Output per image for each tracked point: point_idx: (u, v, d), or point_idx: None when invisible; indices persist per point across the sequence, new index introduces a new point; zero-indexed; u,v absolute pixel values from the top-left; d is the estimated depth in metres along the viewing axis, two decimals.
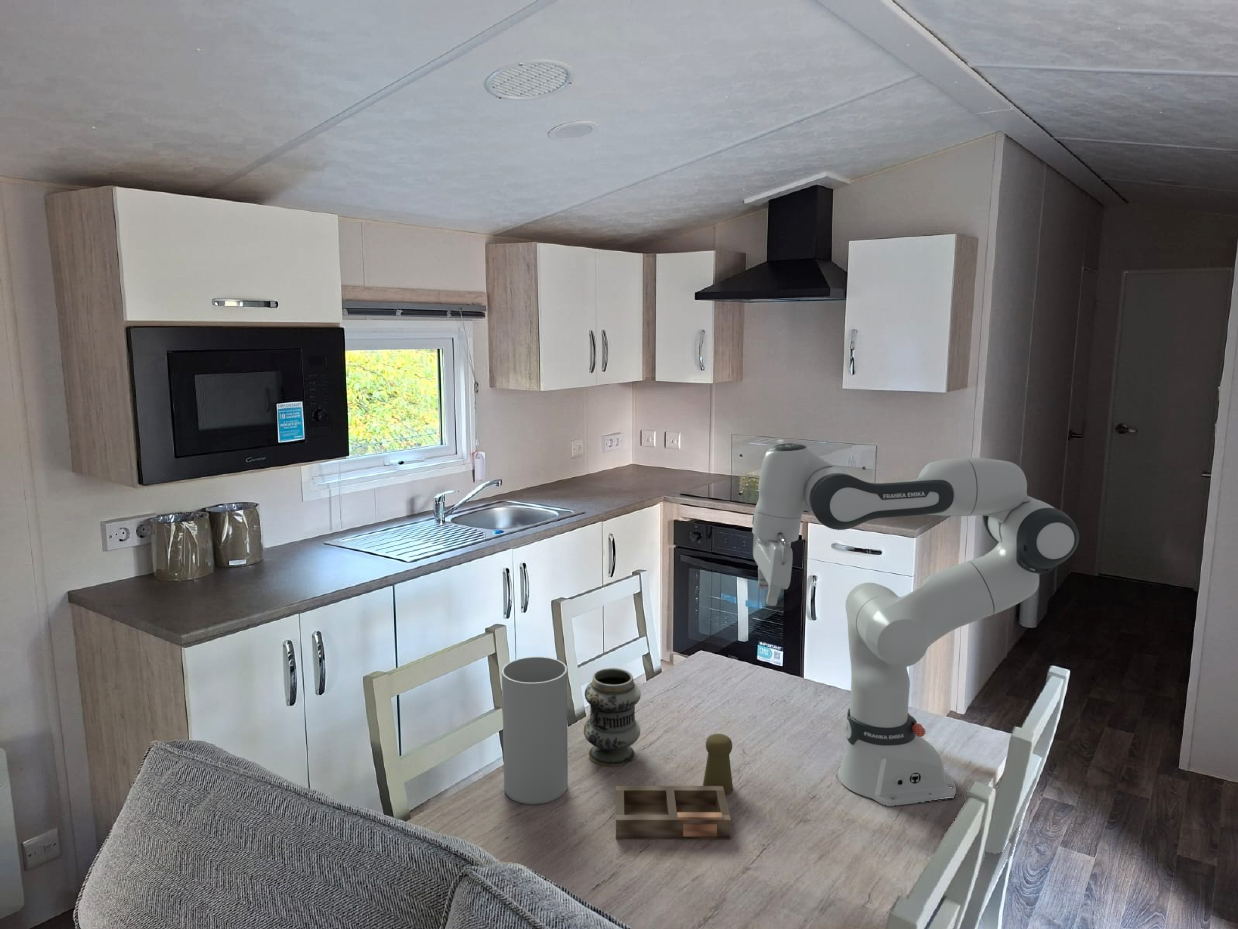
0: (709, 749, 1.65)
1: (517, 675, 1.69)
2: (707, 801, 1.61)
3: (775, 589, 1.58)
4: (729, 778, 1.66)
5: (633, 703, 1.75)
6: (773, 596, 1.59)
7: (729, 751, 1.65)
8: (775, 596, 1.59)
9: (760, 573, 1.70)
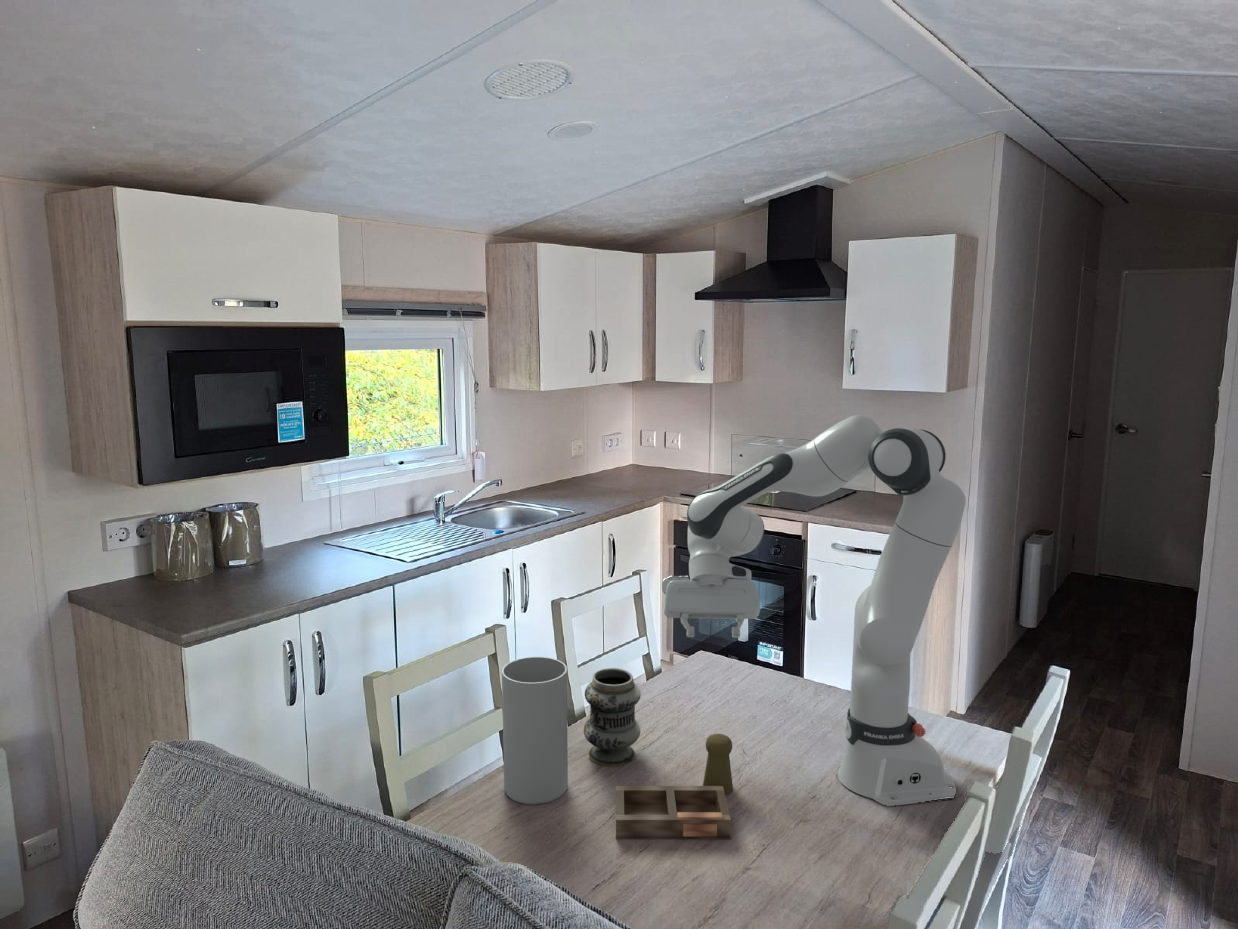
0: (709, 749, 1.65)
1: (517, 675, 1.69)
2: (707, 801, 1.61)
3: (681, 620, 1.78)
4: (729, 778, 1.66)
5: (633, 703, 1.75)
6: (686, 627, 1.77)
7: (729, 751, 1.65)
8: (686, 626, 1.77)
9: None
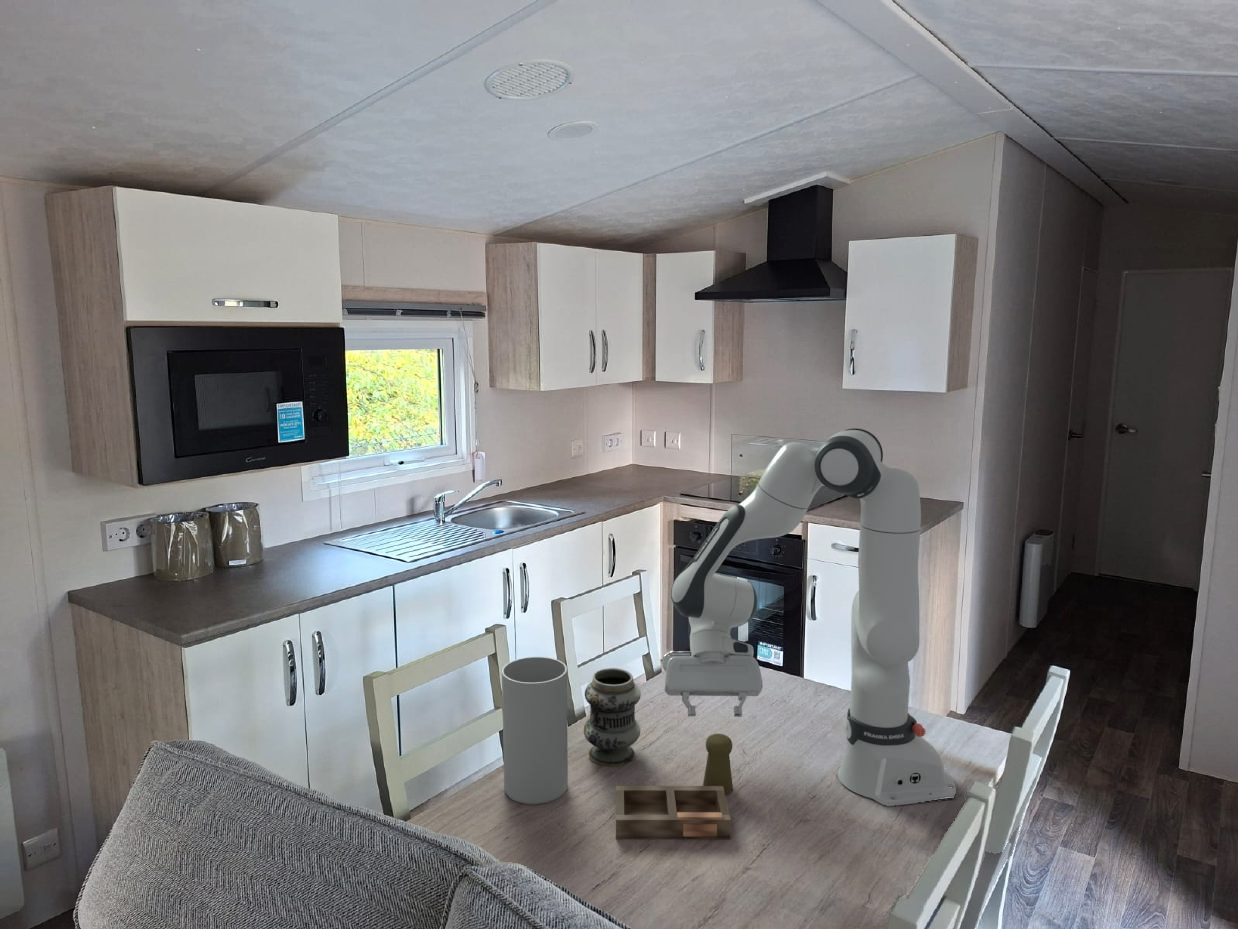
0: (709, 749, 1.65)
1: (517, 675, 1.69)
2: (707, 801, 1.61)
3: (682, 698, 1.75)
4: (729, 778, 1.66)
5: (633, 703, 1.75)
6: (687, 706, 1.74)
7: (729, 751, 1.65)
8: (687, 705, 1.74)
9: None
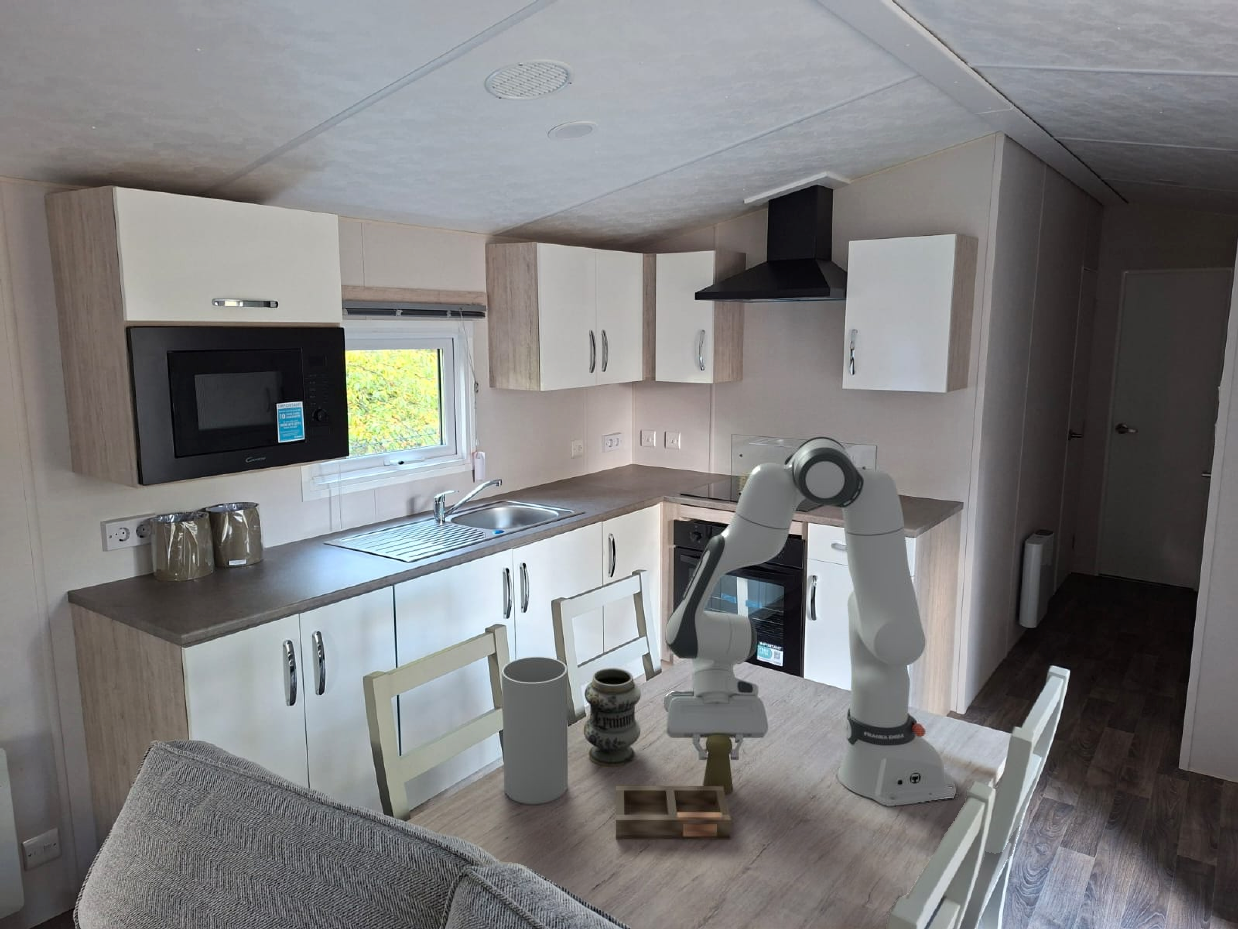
0: (709, 749, 1.65)
1: (517, 675, 1.69)
2: (707, 801, 1.61)
3: (693, 741, 1.69)
4: (729, 778, 1.66)
5: (633, 703, 1.75)
6: (698, 749, 1.68)
7: (729, 751, 1.65)
8: (698, 748, 1.68)
9: None
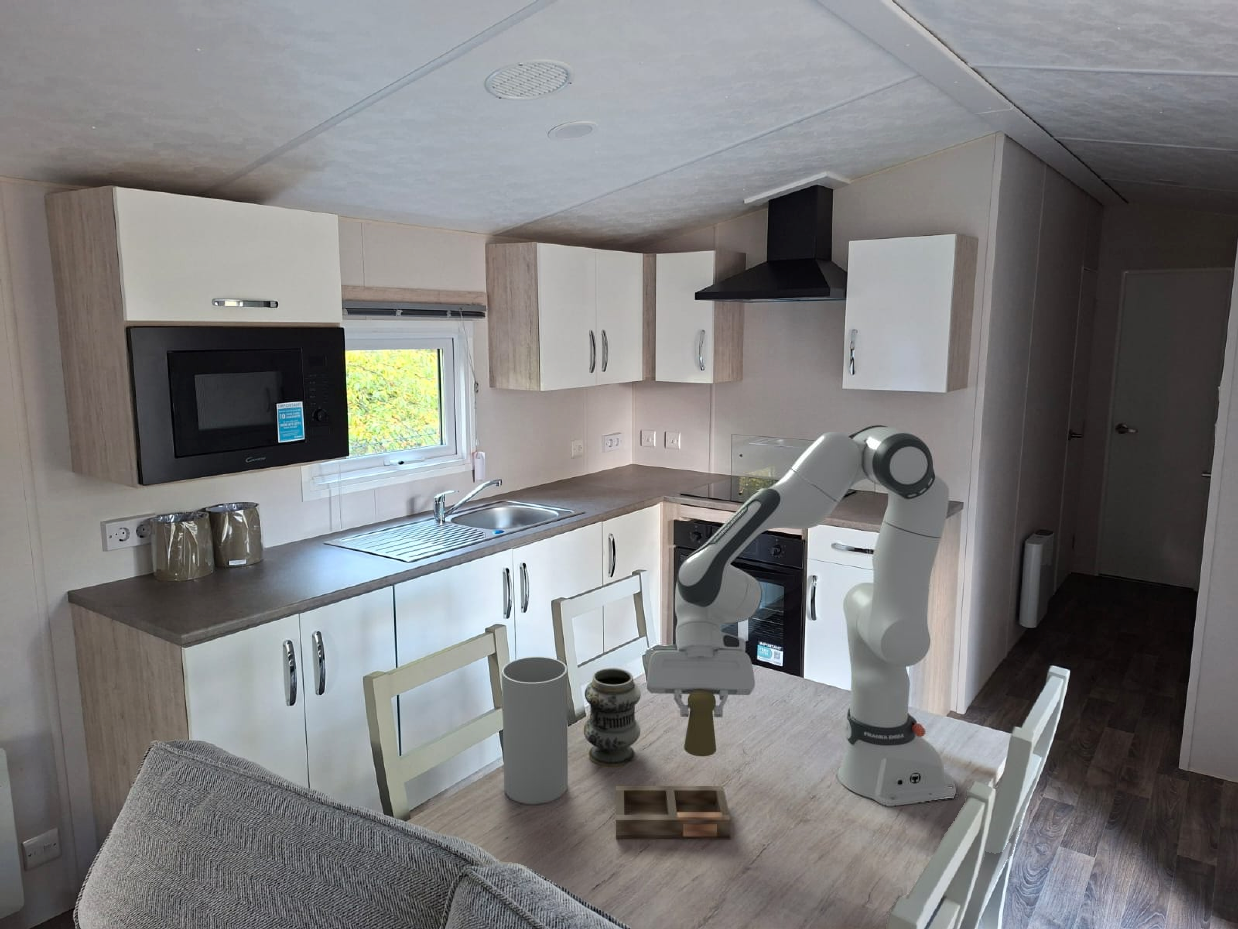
0: (691, 705, 1.55)
1: (517, 675, 1.69)
2: (707, 801, 1.61)
3: (674, 696, 1.58)
4: (712, 737, 1.56)
5: (633, 703, 1.75)
6: (679, 705, 1.58)
7: (712, 707, 1.55)
8: (679, 704, 1.57)
9: None
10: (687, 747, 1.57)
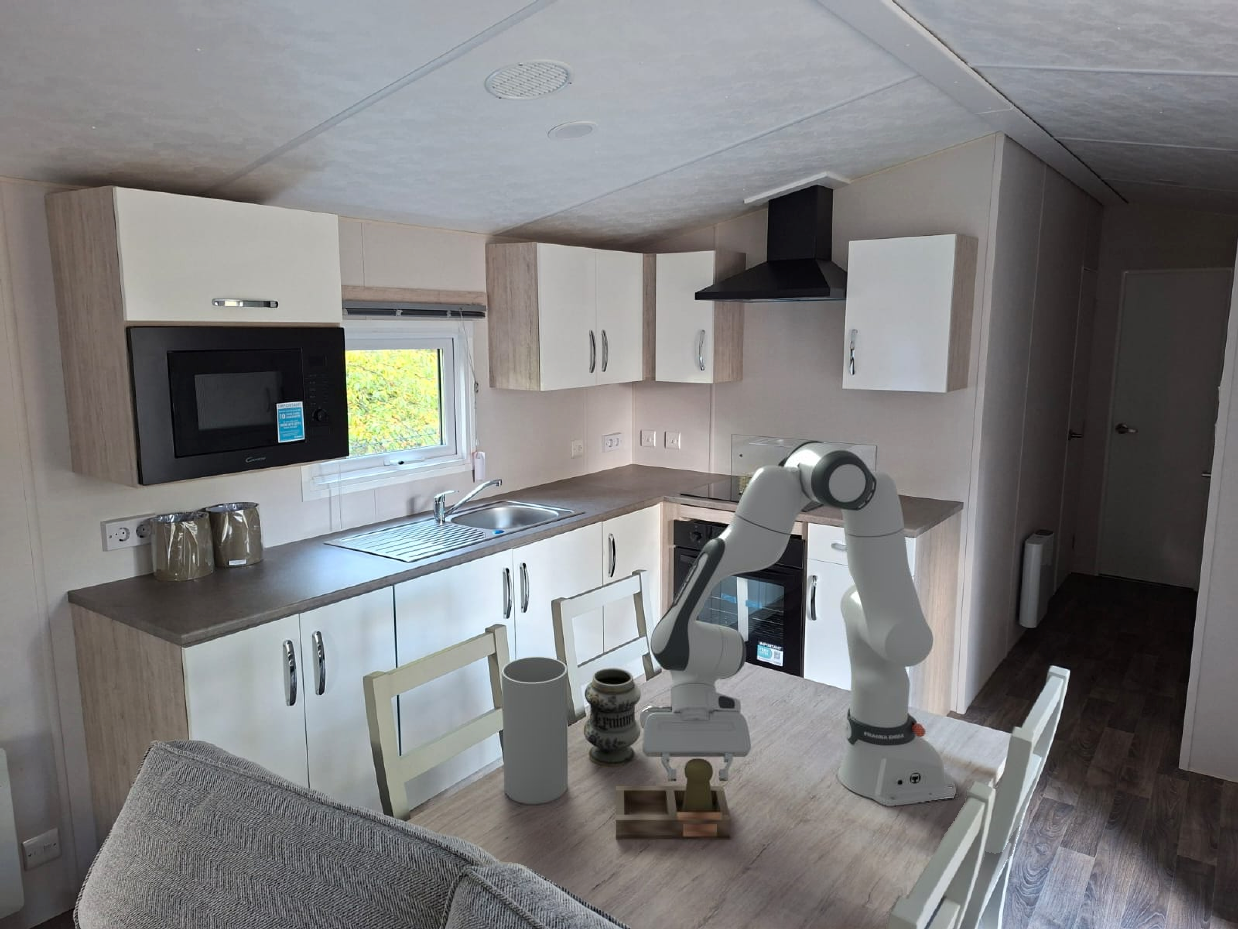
0: (688, 776, 1.54)
1: (517, 675, 1.69)
2: None
3: (662, 760, 1.58)
4: (710, 806, 1.55)
5: (633, 703, 1.75)
6: (667, 769, 1.57)
7: (709, 777, 1.54)
8: (667, 769, 1.56)
9: None
10: None
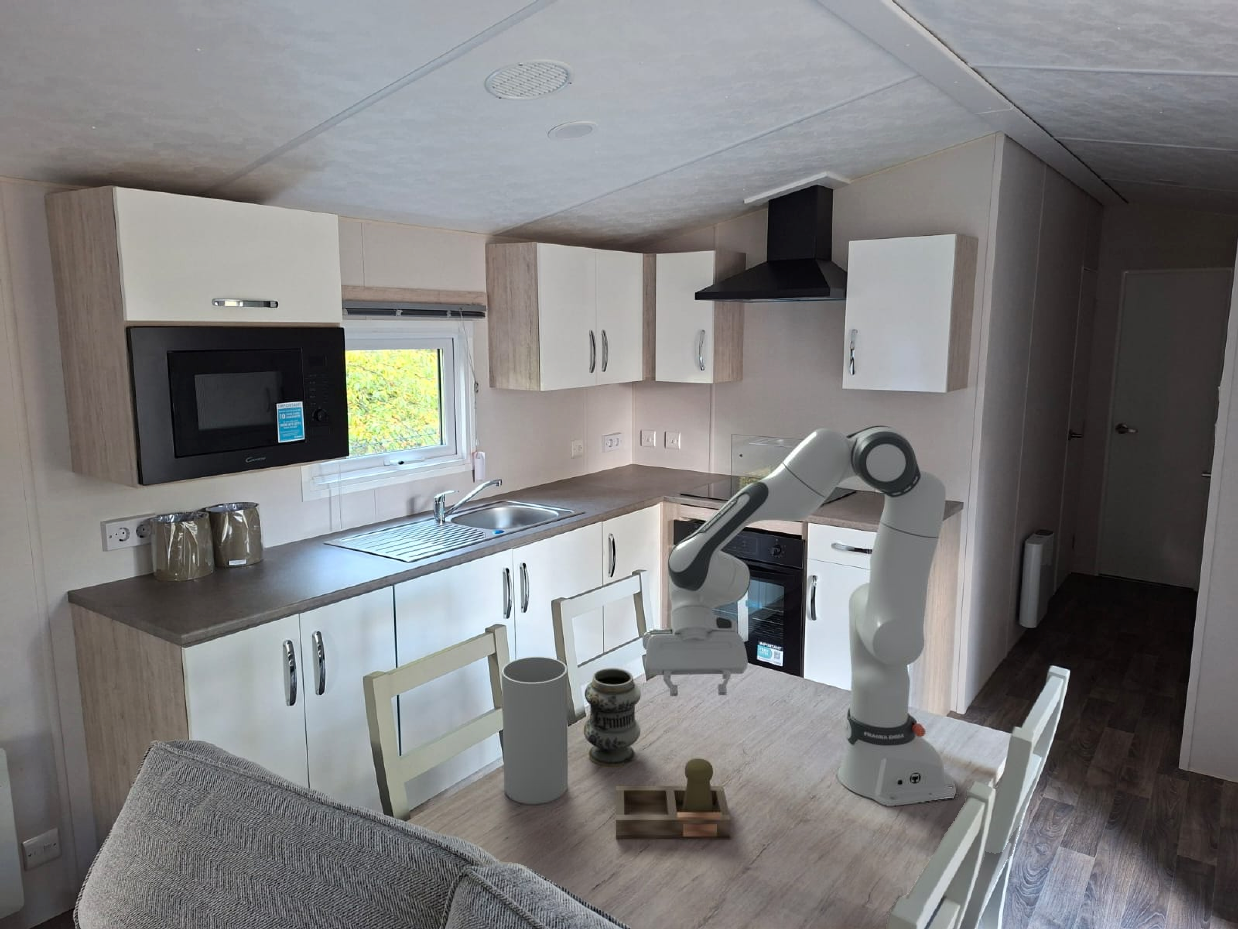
0: (688, 776, 1.54)
1: (517, 675, 1.69)
2: None
3: (663, 677, 1.67)
4: (710, 806, 1.55)
5: (633, 703, 1.75)
6: (668, 685, 1.66)
7: (710, 778, 1.54)
8: (668, 685, 1.65)
9: None
10: None
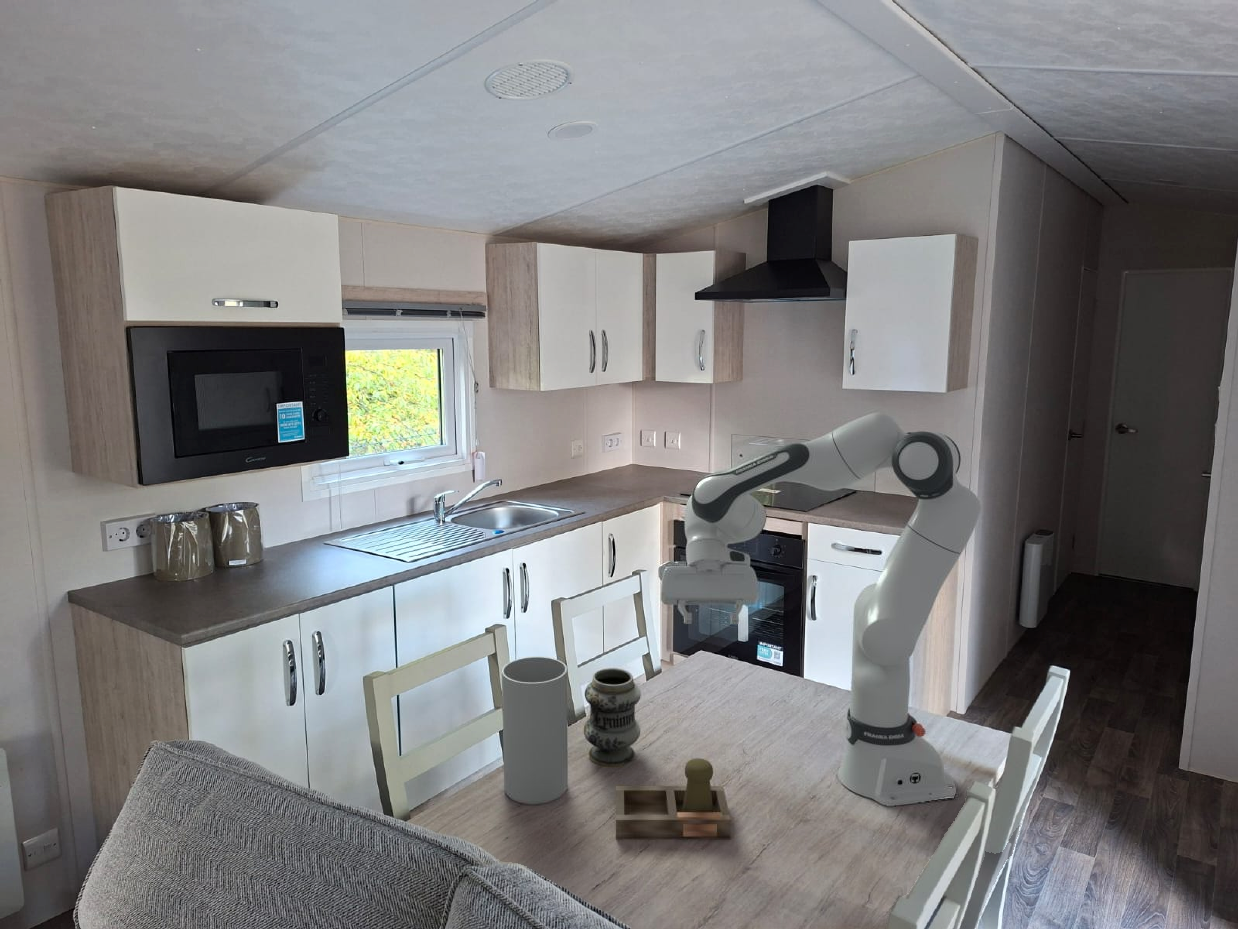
0: (688, 776, 1.54)
1: (517, 675, 1.69)
2: None
3: (678, 606, 1.73)
4: (710, 806, 1.55)
5: (633, 703, 1.75)
6: (683, 614, 1.72)
7: (710, 777, 1.54)
8: (683, 613, 1.72)
9: None
10: None
